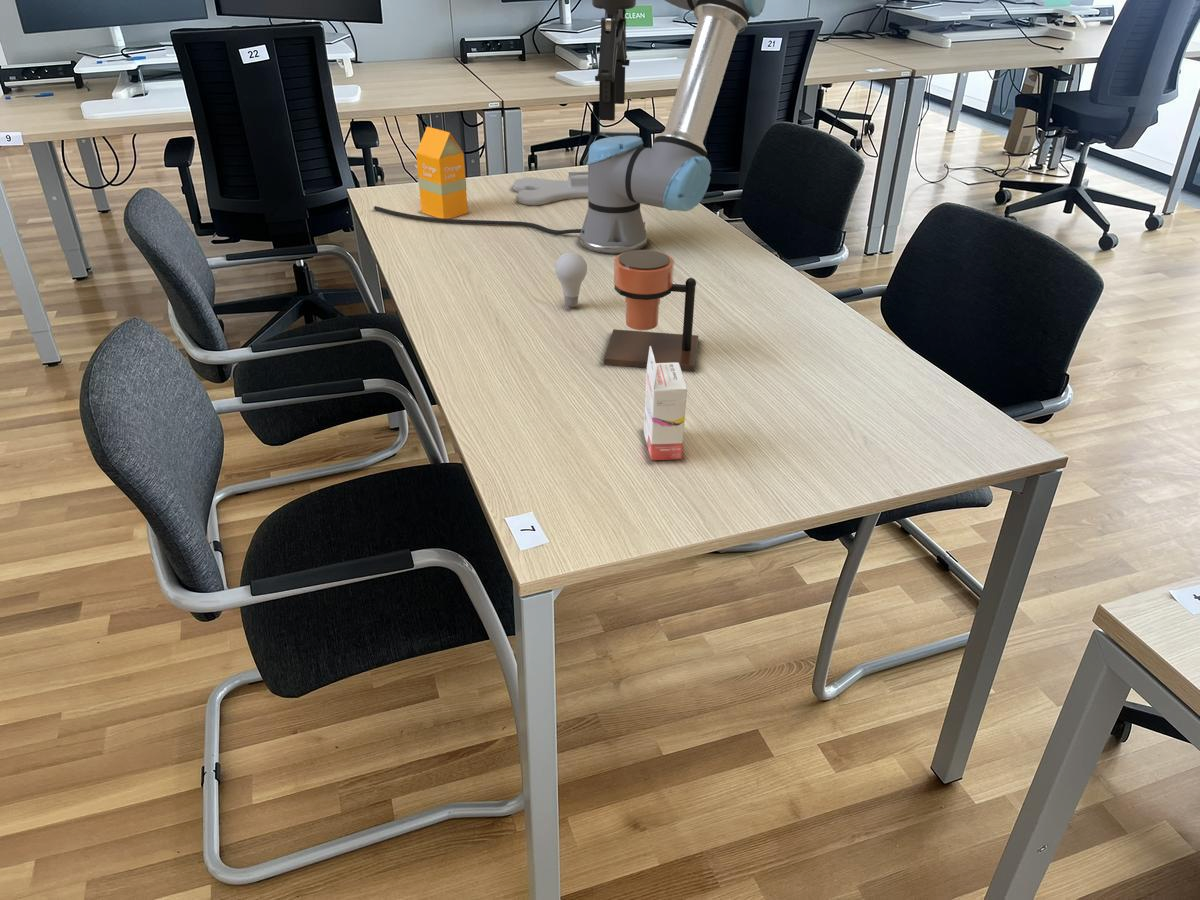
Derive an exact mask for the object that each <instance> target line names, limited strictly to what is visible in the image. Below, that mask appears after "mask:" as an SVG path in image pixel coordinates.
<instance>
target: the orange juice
mask: <svg viewBox="0 0 1200 900" xmlns="http://www.w3.org/2000/svg"><path fill="white" fill-rule="evenodd" d="M415 158H416V168H417V176H418V177H417V179H418V181H417V182H418V188H419V198H420V200H419V201H420V209H421V213H423V214H425V215H429V216H430V217H433V218H445V219H454V218H456V217H459V216H463V215H466V214H468V213H469V210H468V194H467V179H466V167H465V166H466V165H465V164H466V163H465V153H464V151H463V149H461V147H460V145H459V144H458V142H457V141H456V139H455V138H454V137H453V135H452V133H451V132H450V131H447V130H442V129H440V128H435V127H431V126H428V125H427V126H426V127H425V130H424V133H423V135H422V137H421V140H420V143H419V145H418V148H417V150H416V152H415Z"/></svg>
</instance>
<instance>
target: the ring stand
mask: <svg viewBox="0 0 1200 900" xmlns="http://www.w3.org/2000/svg"><path fill="white" fill-rule="evenodd" d="M696 286H697V280H696V279H695V278H693V277H689V278H686V280H685V284H681V283H680V284H679V283H673V285H672V287H671V288H670V289H669V290H667V291H664V292H661V293H657V294H634V293H629V292H625V291H622V290H620V289H619V288H617V287H616V286H615V285H614V287H613V288H614V291H615V292H617V294H619V296H623V297H628V298H632V299H641V300H651V299H657V298H660V299H663V298H664V297H667V296H668V295H670V294H672V292H673V293H685V294H684V309H683V310H684V311H683V324H682V334H683V338H682V350H684V351H690V350H691V341H692V335H693V326H694V325H693V324H694V311H695V298H696V297H695V296H696Z"/></svg>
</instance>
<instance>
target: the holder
mask: <svg viewBox="0 0 1200 900" xmlns="http://www.w3.org/2000/svg"><path fill="white" fill-rule="evenodd" d="M567 176H568V180H559V179H546V178H539V177H521V178H517V179H515V180H514V181H513V182H512V190H514V192H517V193H516V196H515V197H516V201H517V202H518V203H519V204H521V205H525V206H543V205H547V204H550V203H554V202H558V201H563V200H571V199H572V200H573V199H588V170H586V171H568V175H567Z"/></svg>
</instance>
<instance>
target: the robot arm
mask: <svg viewBox="0 0 1200 900" xmlns="http://www.w3.org/2000/svg"><path fill="white" fill-rule="evenodd" d="M591 2H592V6H593V7H594V8H596V9H600V10H601V9H603V10H604V17H601V20H600V40H599V41H600V42H599V55H598V70H597V74H596V75H594V82H598V83H599V86H598V87H599V88H598V89H599V91H598V93H599V94H598V97H599V98H598V120H599V121H611V122H613V121H614V122H615V120H616V119H615V118H616V105H625V103H626V102H625V100H626V99H625V98H626V97H625V95H626V93H625V92H626V67H629V66H630V59H628V53H627V34H626V33H627V31H626V30H627V18H626V14H627V10H631V9H633V8H635V7H636V6H637V5H636V4H637V0H591ZM664 2H666V3H668V4H670V5H673V6H675V7H677V8H679V9H683V10H686V11H689V12H690V11H691V12H693V16H694V18H695V20H696V21H697V24H696V27H695V30H694V33H693V36H692V40H691V44H690V47H689V50H688V54H687V56H686V60H685V62H684V66H683V69H682V73H681V76H680V79H679V82H678V86H677V89H676V93H675V96H674V99H673V102H672V104H671V109H670V112H669V115H668V119H667V122H666V125H665V127H664V131H662V132H661V133H659V134H657V135H655V137H654V140H653V143H652V146H651V147H646V146H644V142H643V138H642V137H639V136H637V135H616V136H610V137H604V138H600V139H597V140H595V141H593V142H592V143H591V144H590V145H589V147H588V157H587V158H588V159H587V171H588V198H587V199H588V202H587V203H588V205H587V212H586V215H585V217H584V221H583V224H582V227H581V228H572V229H571V228H570V229H560V230H559V229H558V230H557V229H552V228H549V227H545V226H543V225H541V224H538V223H534V222H528V221H519V220H518V221H515V220H490V219H489V220H488V219H487V220H486V219H462V218H461V219H460V218H450V219H445V218H437V217H434V216H423V215H416V214H411V213H405V212H401V211H396V210H391V209H388V208H384V207H380V206H377V205H375V206H373V210H374V211H378V212H382V213H385V214H387V215H388V214H389V215H393V216H398V217H402V218H407V219H411V220H418V221H426V222H436V223H449V224H466V225H491V226H493V225H496V226H519V227H521V226H522V227H527V228H528V227H529V228H534V229H537V230H540V231H542V232H546V233H548V234H552V235H567V234H579V239H580V240H579V242H580V245H581V247H583V248H585V249H587V250H589V251H591V252H595V253H596V252H597V253H600V254H601V253H602V254H609V255H611V254H615V255H616V254H618V255H619V254H622V253H624V252H628V251H633V250H643V248H645V247H646V246H647V245H648V232H647V230H646V221H644V220H643V215H642V212H641V205H646V206H651V207H656V208H661V209H666V210H668V211H677V212H689V211H692V210H694V208H696V207H697V206H698V205H699V204H700V203H701V201H702V200H703V199H704V197H705V195H706V193H707V190H708V188H709V185H710V181H711V176H710V175H711V174H712V165H711V162H710V161H709V159H708V158H707V155H708V150H707V149H706V146H705V145H704V141H705V138H706V136H707V135H706V134H707V132H708V129H709V125H710V122H711V119H712V116H713V112H714V109H715V106H716V103H717V99H718V96H719V93H720V89H721V87H722V84H723V80H724V76H725V73H726V71H727V67H728V64H729V60H730V57H731V54H732V50H733V47H734V44H735V41H736V38H737V35H739V34H740V33H742V32H744V31H745V30H746V29H747V26H748V23H749V21H750V18H752V19H754V18H756V17H757V18H758V17H759V16H760V15H761V14H762V12H763V11H764V9H765V5H766V0H664Z"/></svg>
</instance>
